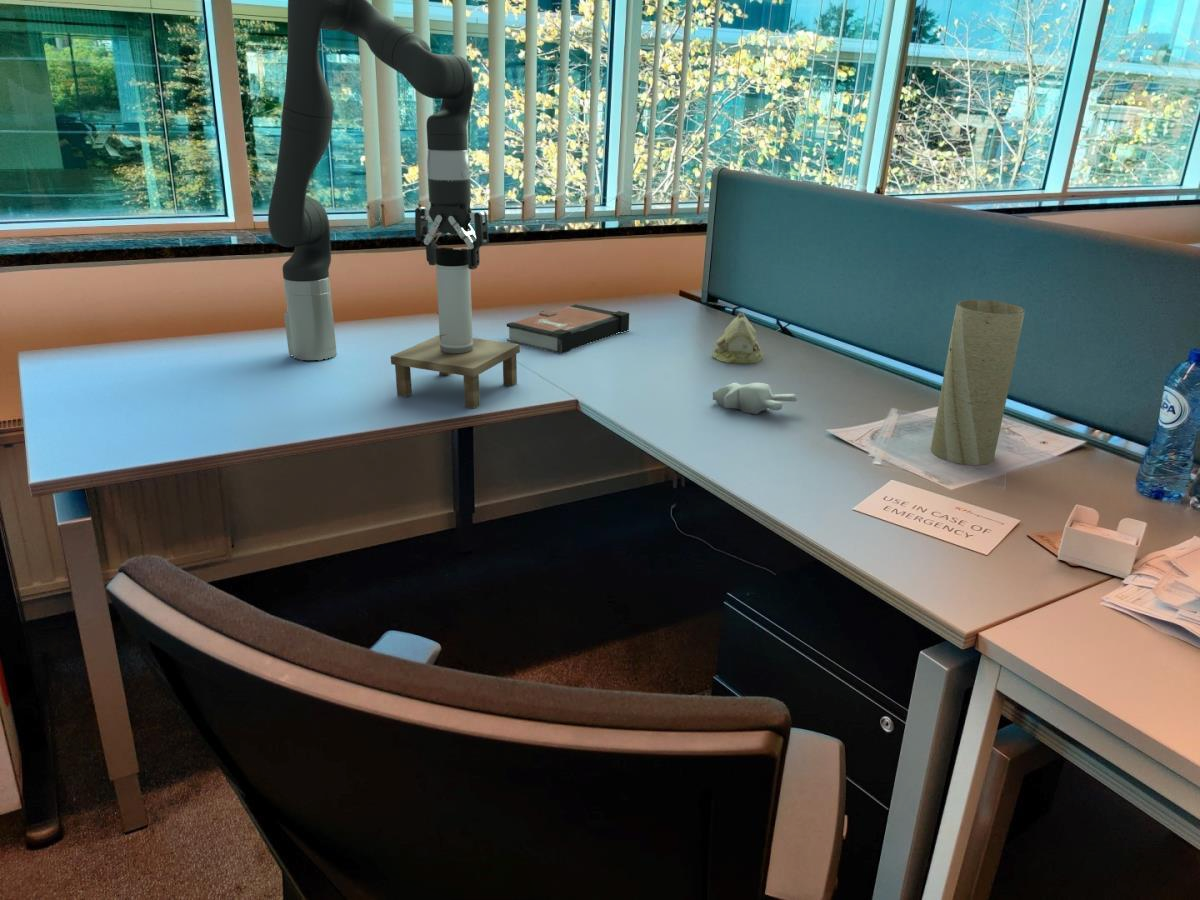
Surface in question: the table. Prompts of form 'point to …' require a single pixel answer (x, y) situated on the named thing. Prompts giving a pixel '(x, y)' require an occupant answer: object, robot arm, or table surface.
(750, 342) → the ceramic model
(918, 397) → the table surface
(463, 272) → the travel mug
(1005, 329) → the tube
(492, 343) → the footstool
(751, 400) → the bunny figurine
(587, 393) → the table surface
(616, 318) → the book
